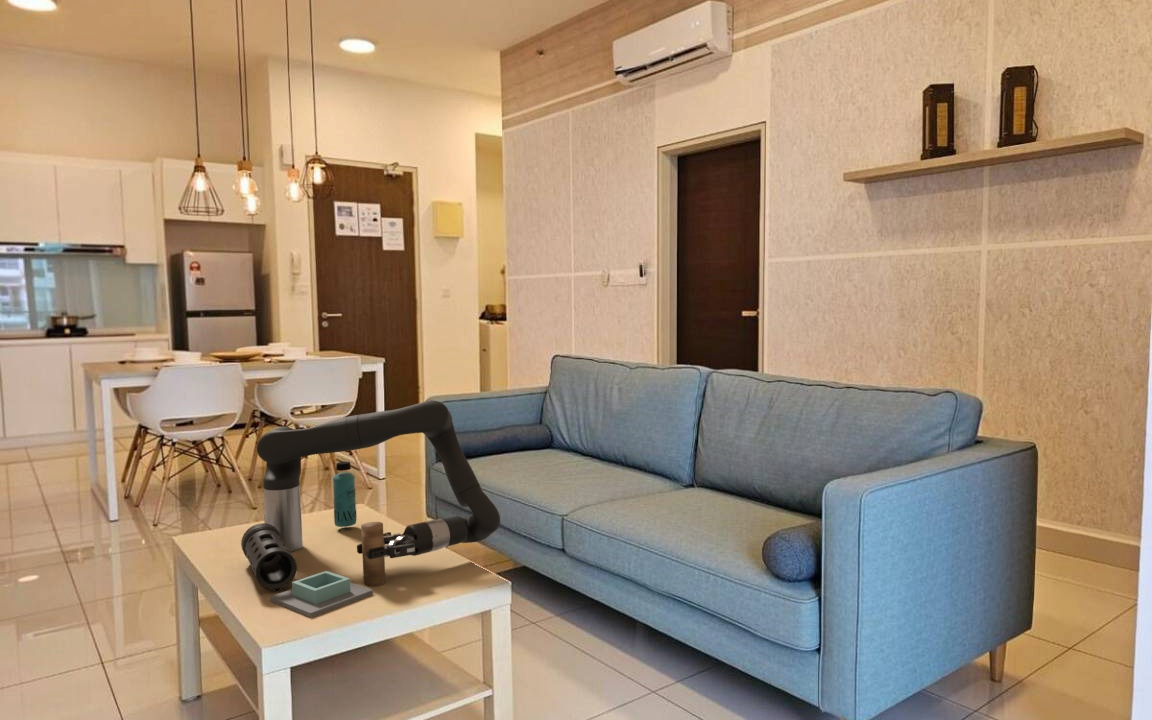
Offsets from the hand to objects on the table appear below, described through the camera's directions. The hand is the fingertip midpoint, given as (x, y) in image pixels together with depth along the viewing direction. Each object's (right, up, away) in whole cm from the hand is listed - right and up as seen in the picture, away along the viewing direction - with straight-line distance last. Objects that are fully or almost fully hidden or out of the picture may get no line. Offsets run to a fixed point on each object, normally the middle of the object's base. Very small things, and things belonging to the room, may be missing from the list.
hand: (362, 552), depth 182 cm
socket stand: (-7, -9, -7) cm, 13 cm away
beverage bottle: (-18, -5, +48) cm, 51 cm away
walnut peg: (+2, -8, +2) cm, 8 cm away
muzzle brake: (-26, -8, +9) cm, 28 cm away
